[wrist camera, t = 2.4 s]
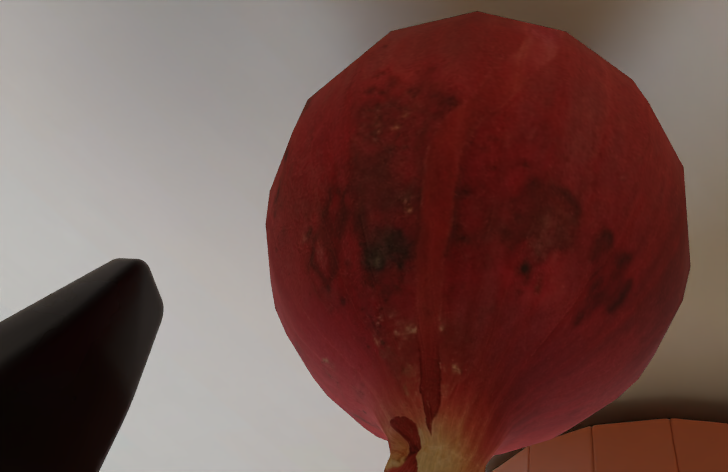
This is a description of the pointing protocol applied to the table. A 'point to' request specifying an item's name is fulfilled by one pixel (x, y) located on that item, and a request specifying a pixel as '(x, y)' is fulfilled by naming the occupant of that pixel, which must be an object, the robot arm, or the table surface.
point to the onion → (476, 238)
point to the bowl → (630, 449)
